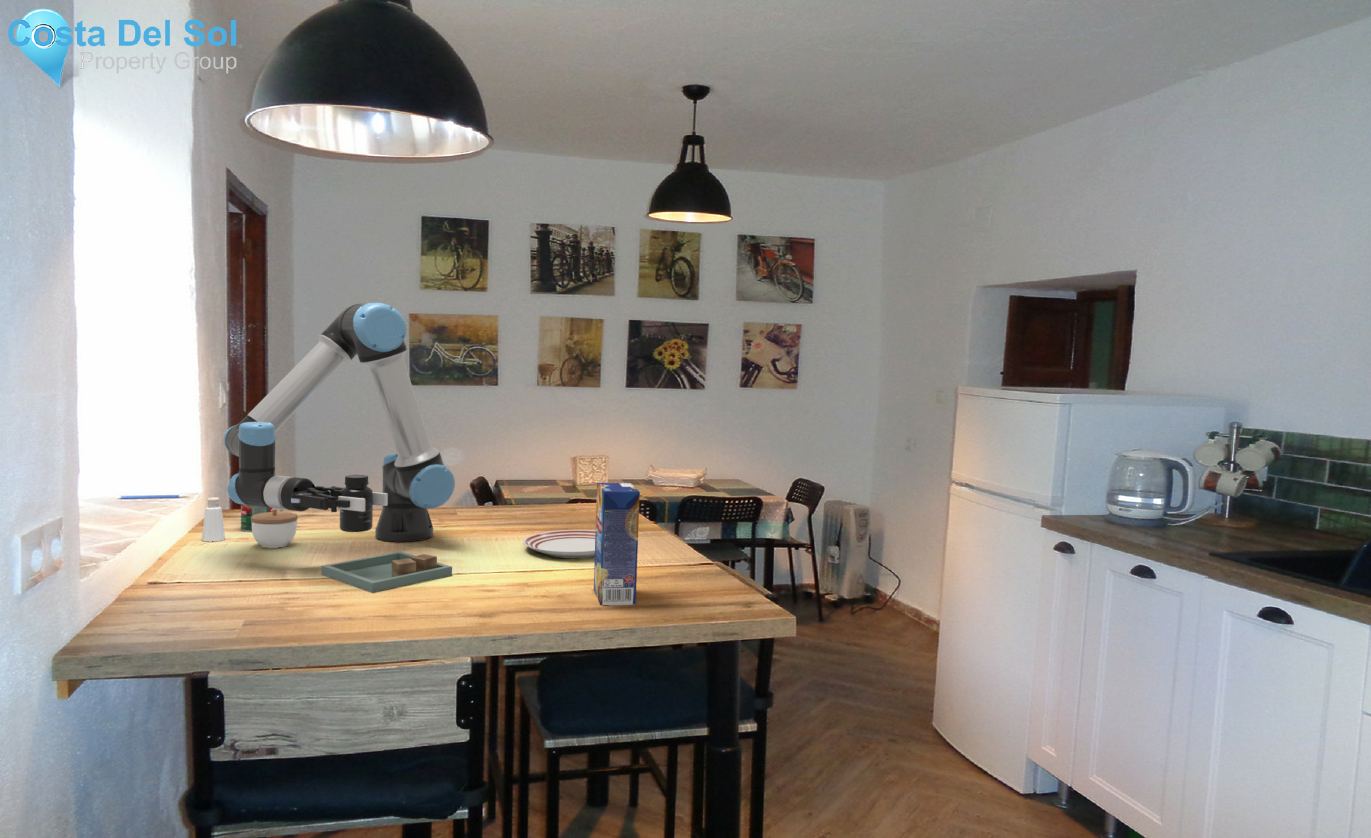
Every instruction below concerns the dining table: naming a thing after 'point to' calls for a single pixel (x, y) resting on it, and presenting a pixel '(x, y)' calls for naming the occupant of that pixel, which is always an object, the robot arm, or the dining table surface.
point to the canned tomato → (250, 515)
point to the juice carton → (616, 543)
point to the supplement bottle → (357, 519)
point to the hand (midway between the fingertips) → (375, 502)
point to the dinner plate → (564, 543)
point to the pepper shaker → (213, 521)
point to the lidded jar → (274, 528)
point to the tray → (380, 572)
